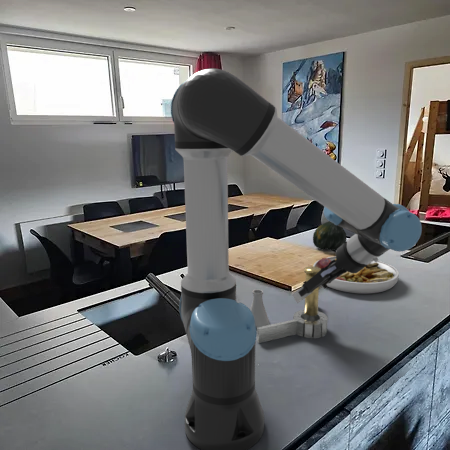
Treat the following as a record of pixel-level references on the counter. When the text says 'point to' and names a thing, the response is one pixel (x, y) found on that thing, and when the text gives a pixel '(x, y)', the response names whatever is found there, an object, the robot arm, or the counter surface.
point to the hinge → (295, 327)
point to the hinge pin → (311, 299)
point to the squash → (329, 236)
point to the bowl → (363, 277)
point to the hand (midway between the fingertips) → (300, 296)
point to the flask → (259, 309)
